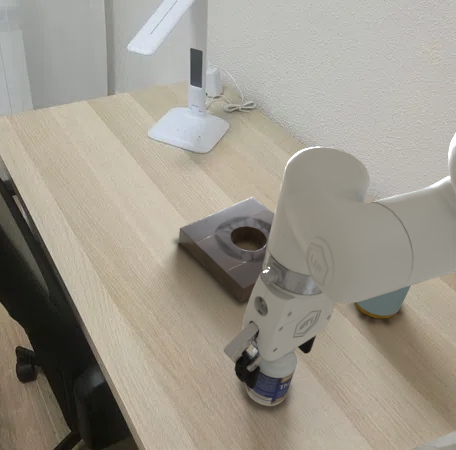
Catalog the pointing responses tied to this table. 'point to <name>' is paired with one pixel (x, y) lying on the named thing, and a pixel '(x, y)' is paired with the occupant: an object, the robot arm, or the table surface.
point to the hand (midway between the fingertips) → (272, 361)
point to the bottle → (383, 304)
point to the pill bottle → (273, 379)
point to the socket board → (231, 244)
